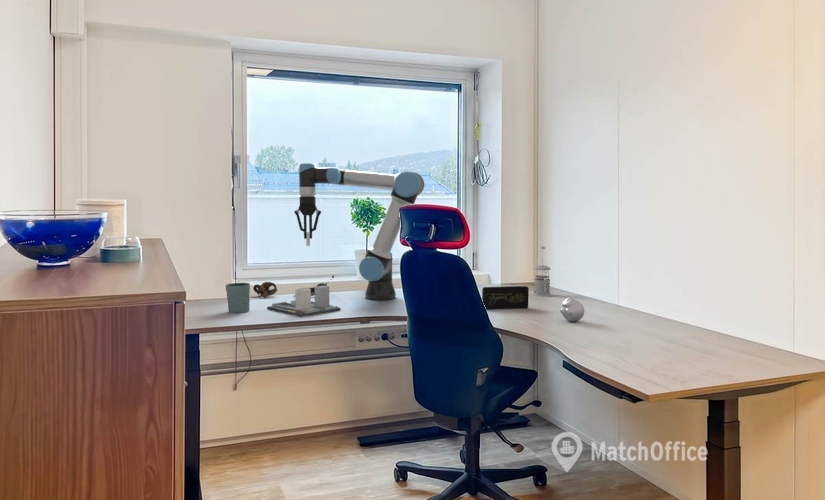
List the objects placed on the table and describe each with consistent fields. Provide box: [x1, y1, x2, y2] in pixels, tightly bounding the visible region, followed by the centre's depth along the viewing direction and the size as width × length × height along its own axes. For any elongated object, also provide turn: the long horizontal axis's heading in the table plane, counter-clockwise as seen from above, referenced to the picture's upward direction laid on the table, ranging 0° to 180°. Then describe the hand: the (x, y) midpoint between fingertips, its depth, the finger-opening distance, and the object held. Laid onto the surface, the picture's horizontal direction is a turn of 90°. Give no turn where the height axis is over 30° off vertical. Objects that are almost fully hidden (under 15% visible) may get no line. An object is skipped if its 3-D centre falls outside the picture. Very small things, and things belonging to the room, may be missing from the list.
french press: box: [532, 245, 552, 298], centre depth 305 cm, size 10×12×25 cm
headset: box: [308, 275, 335, 297], centre depth 302 cm, size 14×10×20 cm
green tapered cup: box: [225, 282, 251, 314], centre depth 257 cm, size 10×10×12 cm
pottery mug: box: [252, 281, 278, 299], centre depth 298 cm, size 12×10×8 cm
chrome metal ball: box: [560, 296, 585, 323], centre depth 238 cm, size 9×9×10 cm
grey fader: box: [314, 285, 330, 308], centre depth 262 cm, size 4×5×9 cm
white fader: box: [294, 287, 312, 311], centre depth 254 cm, size 4×5×9 cm
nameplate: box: [481, 285, 530, 311], centre depth 266 cm, size 21×2×10 cm, turn 100°
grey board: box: [266, 299, 341, 318], centre depth 262 cm, size 25×21×2 cm
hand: (308, 245), depth 285 cm, fingers closed
